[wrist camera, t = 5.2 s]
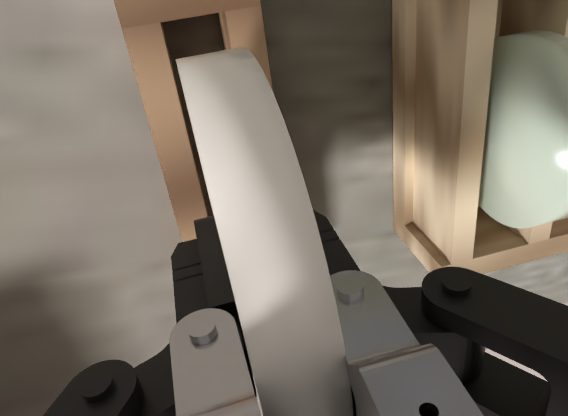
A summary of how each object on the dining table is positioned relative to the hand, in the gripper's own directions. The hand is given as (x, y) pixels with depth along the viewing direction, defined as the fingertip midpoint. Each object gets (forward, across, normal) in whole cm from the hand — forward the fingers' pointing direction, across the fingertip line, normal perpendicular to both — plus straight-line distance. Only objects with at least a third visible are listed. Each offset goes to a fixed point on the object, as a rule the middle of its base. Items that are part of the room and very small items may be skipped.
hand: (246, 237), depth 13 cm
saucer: (+7, -11, +1) cm, 13 cm away
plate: (+4, 0, 0) cm, 4 cm away
